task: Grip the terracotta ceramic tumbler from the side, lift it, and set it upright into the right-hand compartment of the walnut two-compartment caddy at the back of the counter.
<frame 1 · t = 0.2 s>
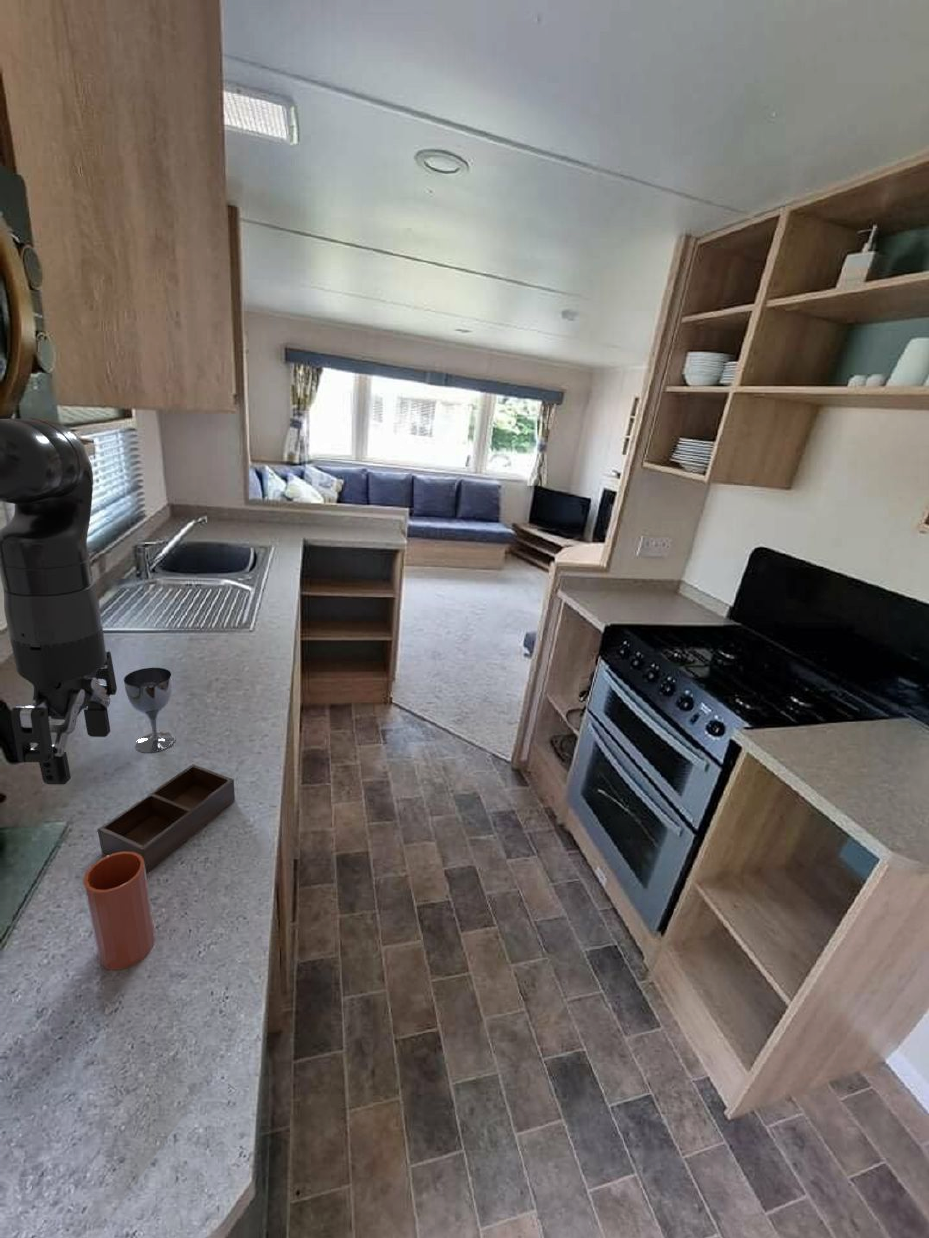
hand: (80, 757, 58), 27 cm above the countertop, tool pointing down, fingers open, 8 cm apart
wine glass: (155, 742, 105), on the countertop
tumbler: (127, 946, 66), on the countertop
caddy: (173, 824, 86), on the countertop
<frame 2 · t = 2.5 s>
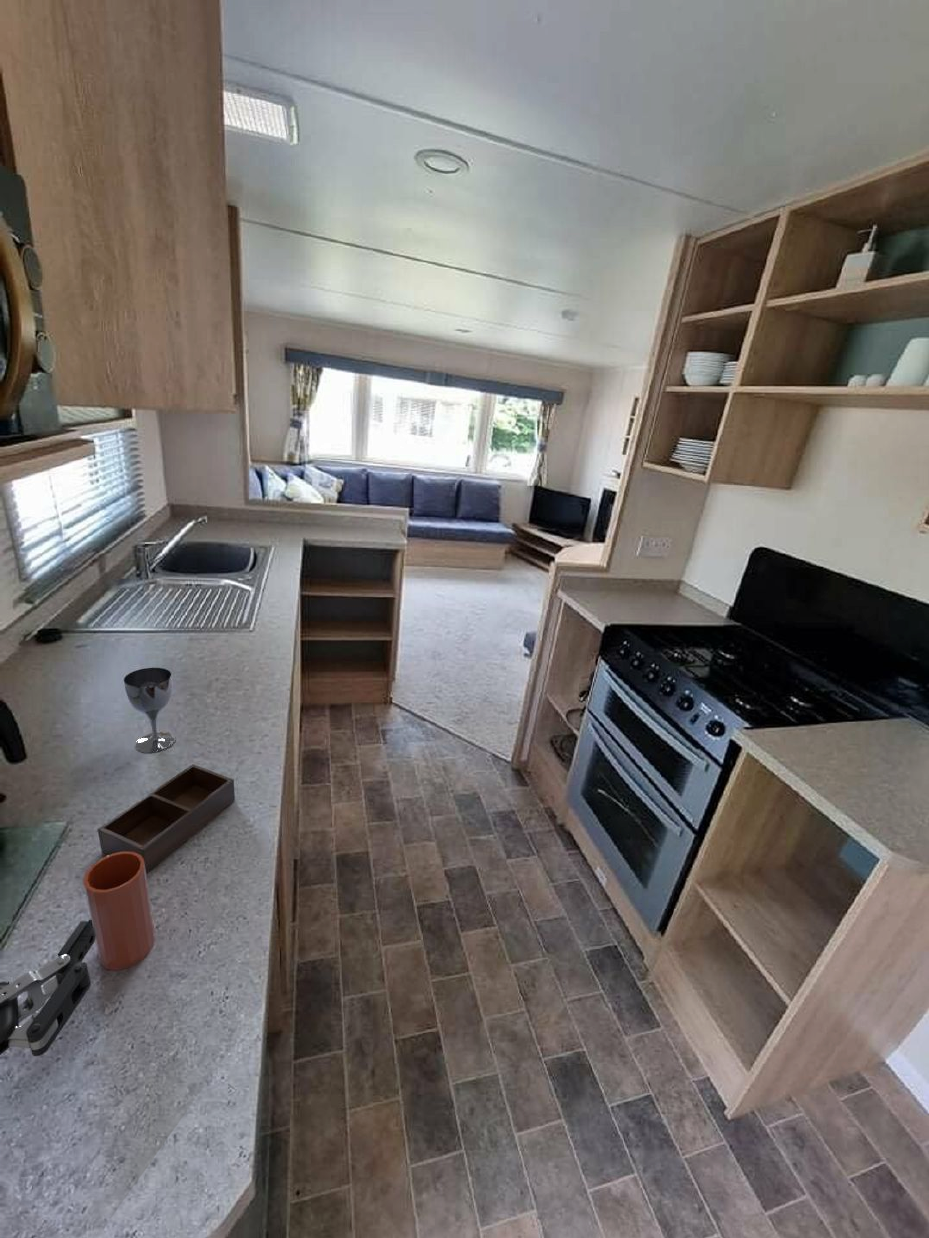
hand: (42, 924, 49), 18 cm above the countertop, tool horizontal, fingers open, 8 cm apart
nothing on the countertop moved.
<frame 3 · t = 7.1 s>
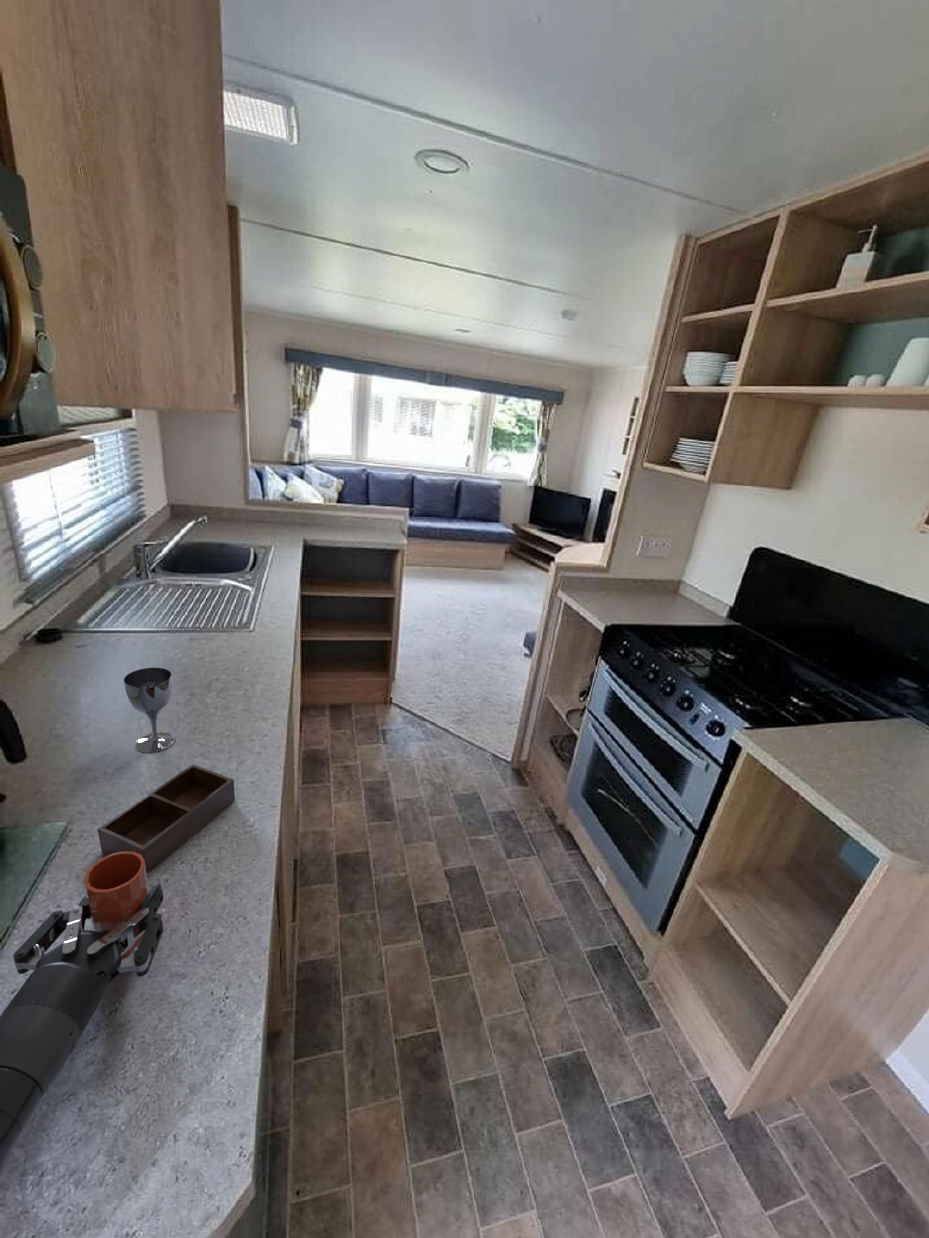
hand: (130, 887, 66), 8 cm above the countertop, tool horizontal, fingers closed on tumbler, 6 cm apart
tumbler: (127, 946, 66), on the countertop, touching gripper
everything else where it was.
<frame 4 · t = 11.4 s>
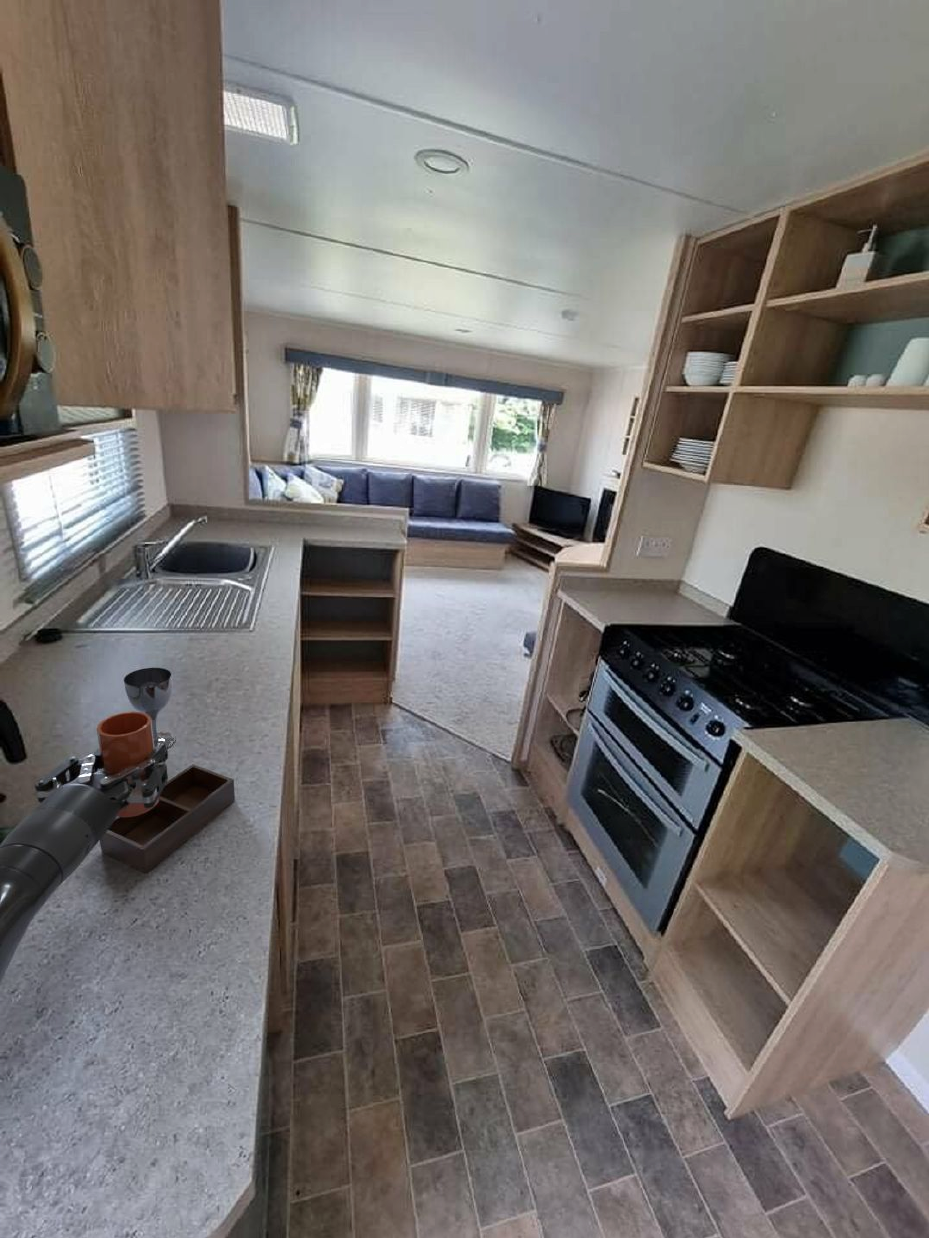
hand: (138, 747, 72), 20 cm above the countertop, tool horizontal, fingers closed on tumbler, 6 cm apart
tumbler: (135, 802, 73), point 12 cm above the countertop, touching gripper
everything else where it was.
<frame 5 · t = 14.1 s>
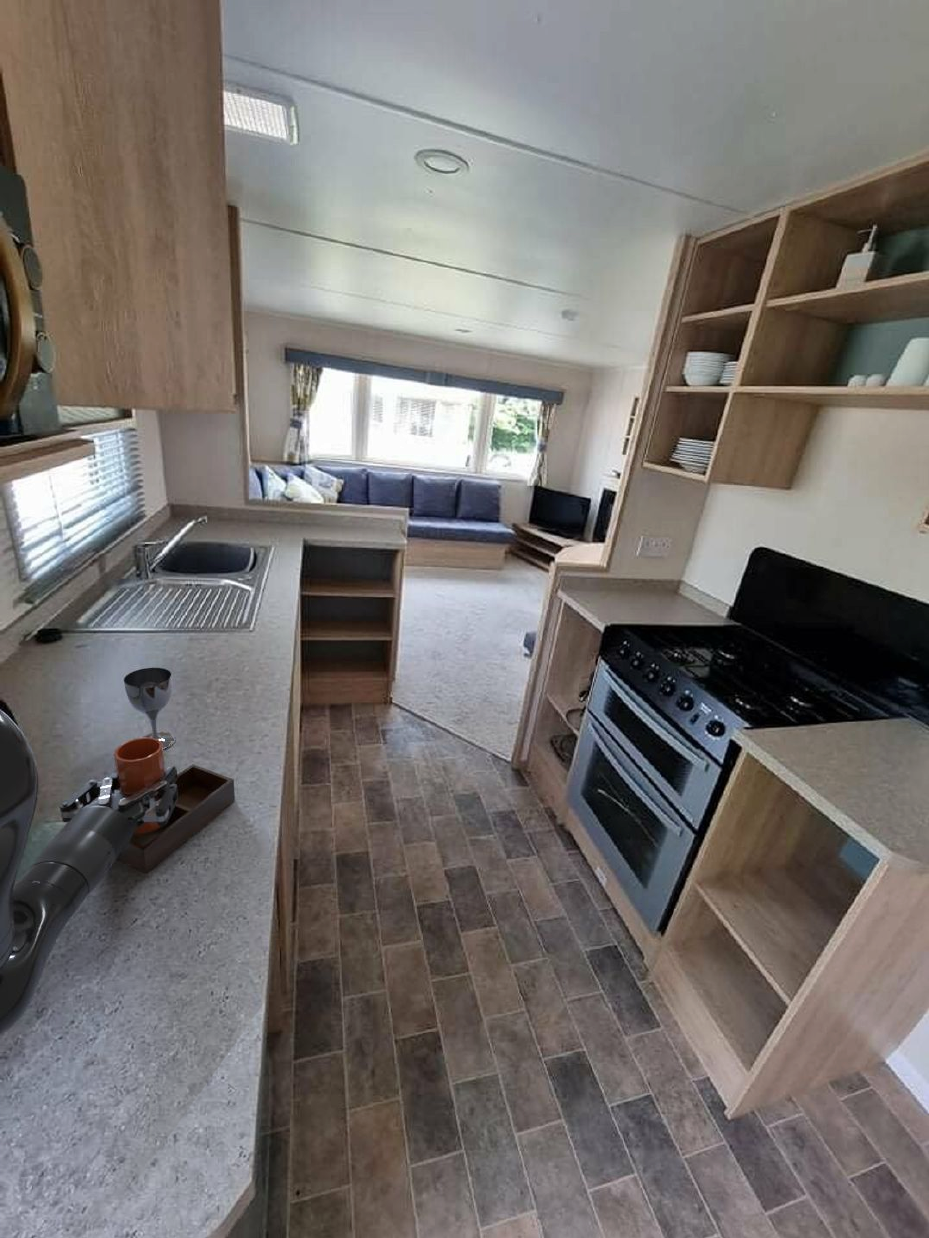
hand: (150, 769, 80), 12 cm above the countertop, tool horizontal, fingers closed on tumbler, 6 cm apart
tumbler: (148, 819, 80), point 5 cm above the countertop, touching gripper
everything else where it was.
when the fingers open (8 cm above the countertop, at t = 15.9 s): tumbler stays where it is, resting on caddy.
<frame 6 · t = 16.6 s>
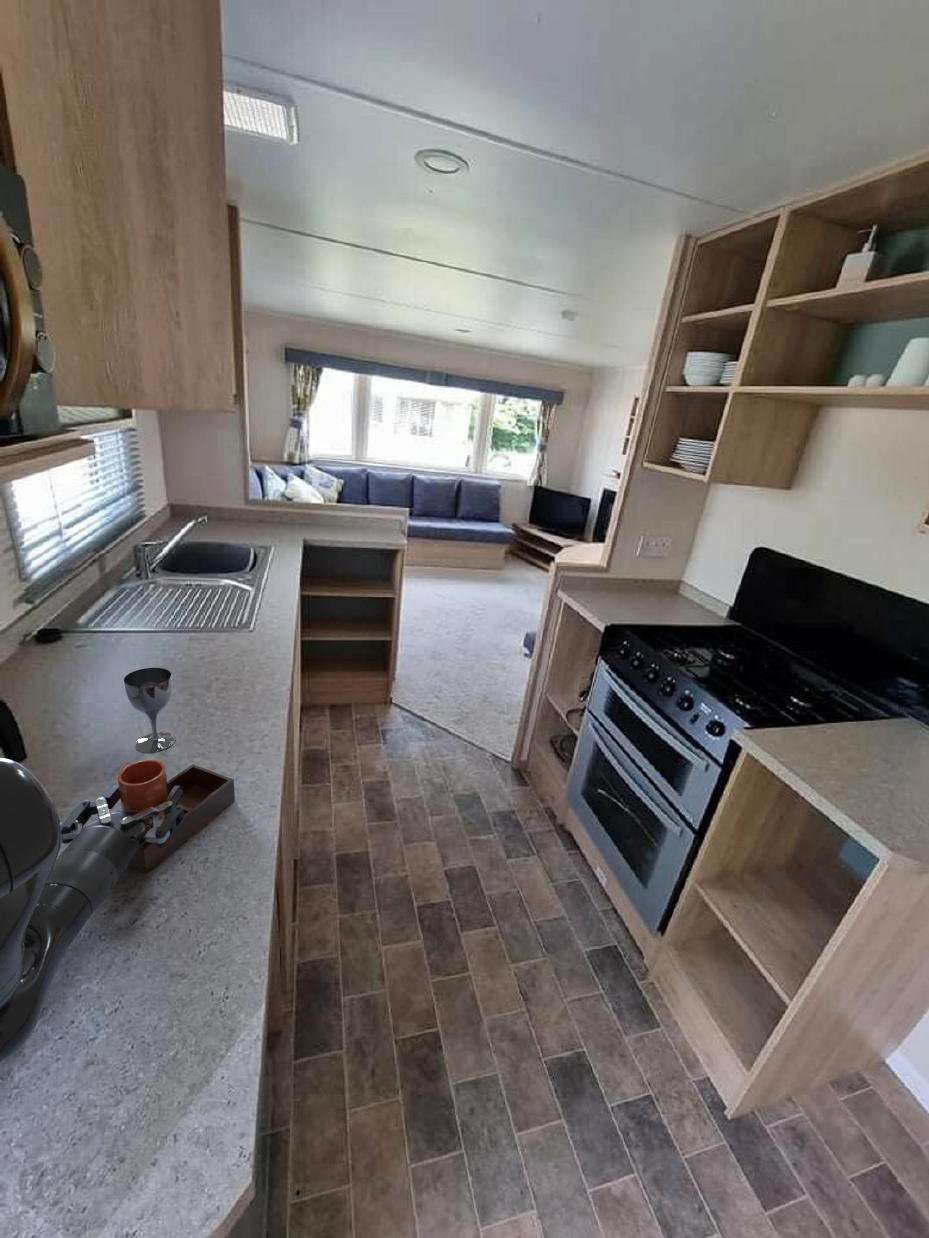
hand: (150, 788, 80), 9 cm above the countertop, tool horizontal, fingers open, 8 cm apart
tumbler: (150, 839, 81), point 1 cm above the countertop, touching caddy
everything else where it was.
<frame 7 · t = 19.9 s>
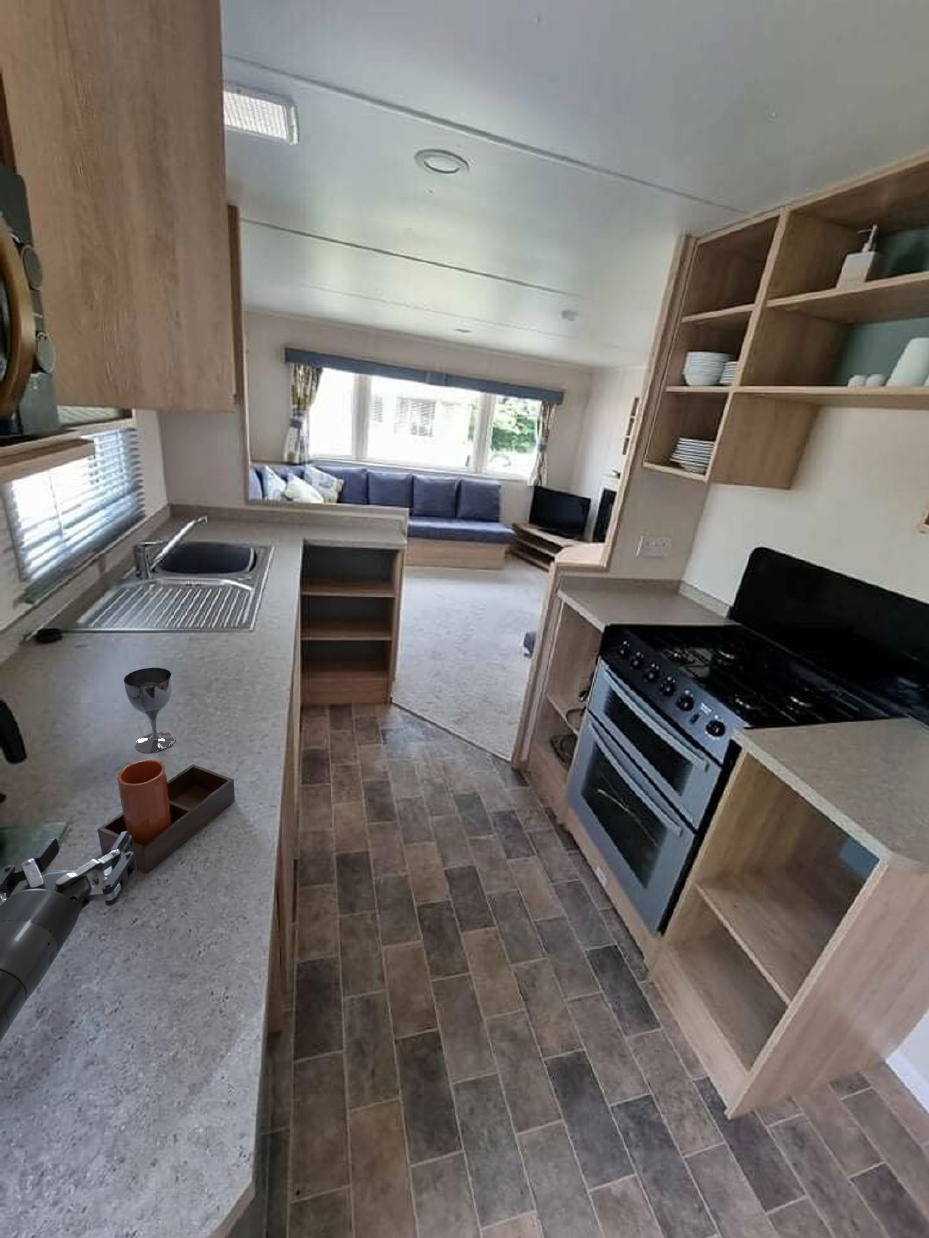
hand: (91, 840, 68), 11 cm above the countertop, tool horizontal, fingers open, 8 cm apart
nothing on the countertop moved.
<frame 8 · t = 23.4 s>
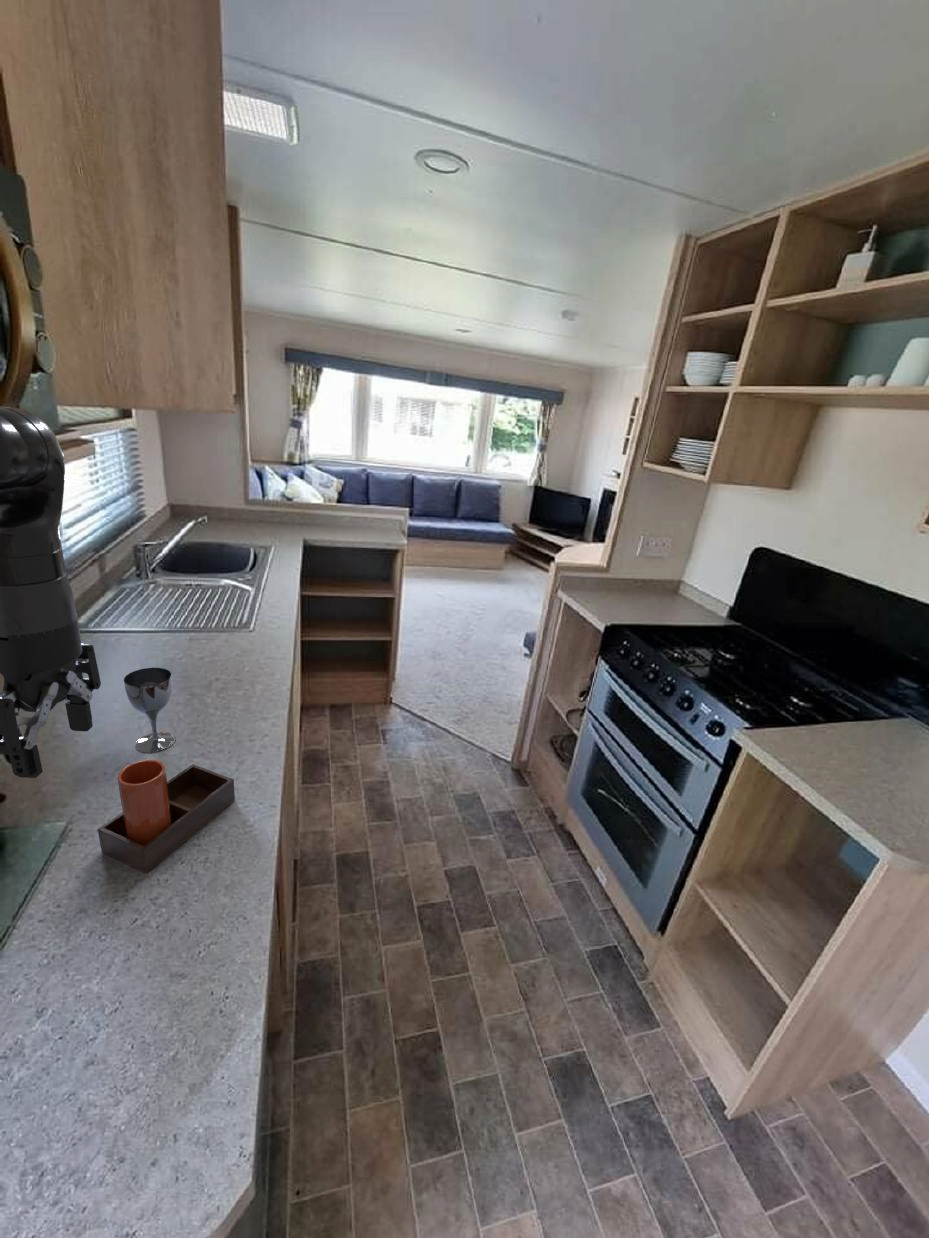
hand: (57, 751, 58), 28 cm above the countertop, tool pointing down, fingers open, 8 cm apart
nothing on the countertop moved.
at the end: tumbler 0.1 cm from the target spot on the caddy, point 0.6 cm above the caddy's base; tumbler tilted 0°; the gripper is holding nothing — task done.
